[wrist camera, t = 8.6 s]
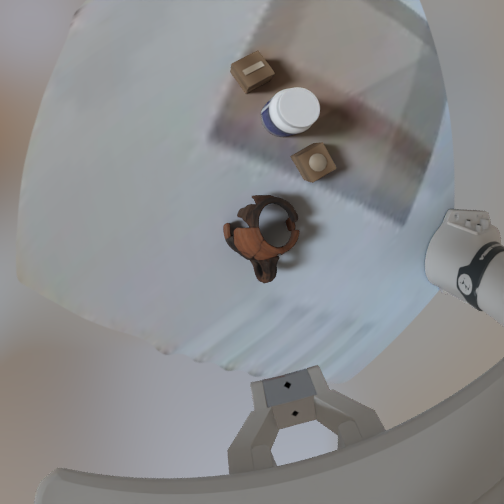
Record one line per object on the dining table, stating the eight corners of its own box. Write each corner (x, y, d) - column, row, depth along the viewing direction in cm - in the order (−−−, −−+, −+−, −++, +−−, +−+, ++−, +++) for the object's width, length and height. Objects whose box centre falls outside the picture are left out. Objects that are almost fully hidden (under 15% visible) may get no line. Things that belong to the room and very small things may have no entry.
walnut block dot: (313, 143, 38) (323, 142, 34) (326, 166, 39) (337, 168, 35) (290, 156, 38) (298, 156, 34) (303, 179, 39) (313, 182, 36)
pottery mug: (212, 206, 40) (239, 195, 33) (266, 197, 44) (299, 187, 37) (230, 287, 41) (260, 293, 34) (281, 270, 46) (316, 272, 39)
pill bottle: (296, 141, 37) (319, 137, 28) (256, 132, 36) (269, 125, 27) (303, 104, 36) (328, 90, 26) (264, 95, 35) (278, 76, 25)
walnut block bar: (254, 59, 33) (258, 49, 29) (269, 80, 34) (275, 73, 30) (230, 72, 33) (231, 63, 29) (245, 93, 34) (248, 86, 30)
